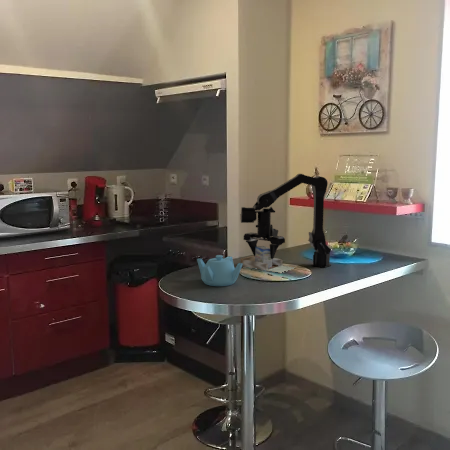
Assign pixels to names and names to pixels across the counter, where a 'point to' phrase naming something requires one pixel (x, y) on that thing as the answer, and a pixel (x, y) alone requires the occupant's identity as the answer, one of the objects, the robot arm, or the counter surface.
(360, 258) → the counter surface
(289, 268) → the mat
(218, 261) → the teapot
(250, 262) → the shelf lane
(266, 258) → the medicine box
